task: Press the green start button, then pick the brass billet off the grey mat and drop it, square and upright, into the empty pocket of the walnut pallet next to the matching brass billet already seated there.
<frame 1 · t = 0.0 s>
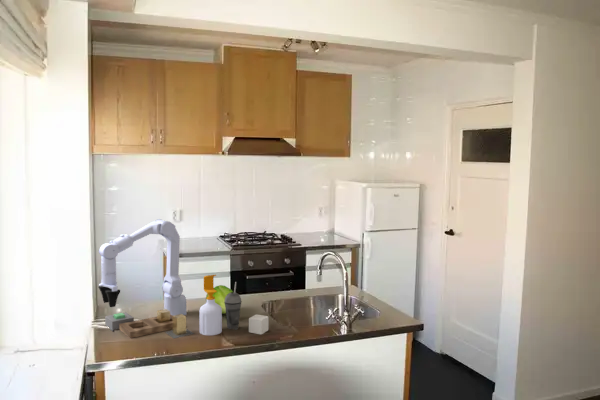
hand: (109, 304, 214), 10 cm above the table, tool pointing down, fingers open, 7 cm apart
soap bottle: (210, 333, 211), on the table
button housing: (119, 326, 217), on the table
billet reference: (163, 327, 217), resting in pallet
beverage cup: (232, 328, 216), on the table
lettuce: (222, 314, 235), on the table
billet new: (179, 332, 208), point 1 cm above the table, touching mat
start button: (119, 318, 217), point 4 cm above the table, slide at 0.0 cm
mat: (179, 334, 208), on the table
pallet: (151, 329, 213), on the table
white cube: (258, 331, 213), on the table
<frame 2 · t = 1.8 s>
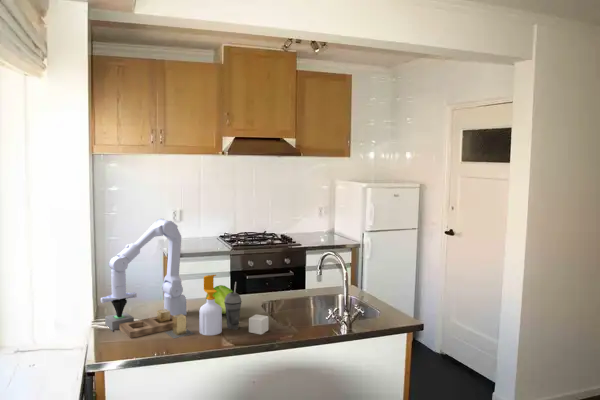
hand: (119, 316, 217), 4 cm above the table, tool pointing down, fingers closed, pressing on start button
start button: (119, 319, 217), point 3 cm above the table, slide at 0.8 cm, touching gripper
everything else where it was.
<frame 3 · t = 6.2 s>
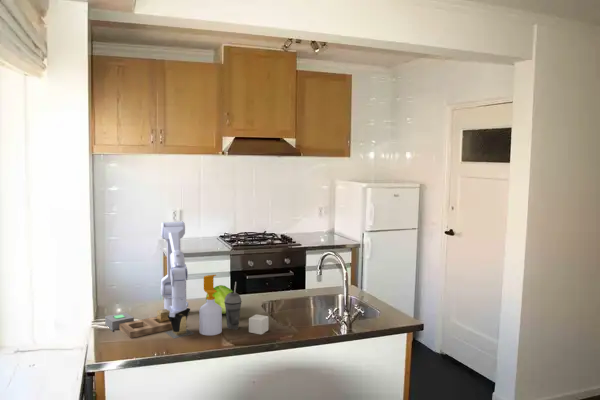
hand: (179, 329, 208), 2 cm above the table, tool pointing down, fingers closed on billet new, 6 cm apart
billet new: (179, 332, 208), point 1 cm above the table, touching gripper, mat
start button: (119, 319, 217), point 3 cm above the table, slide at 0.8 cm
everything else where it was.
when the fingers open (3 cm above the table, at t = 12.1 s): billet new drops 2 cm, resting in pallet.
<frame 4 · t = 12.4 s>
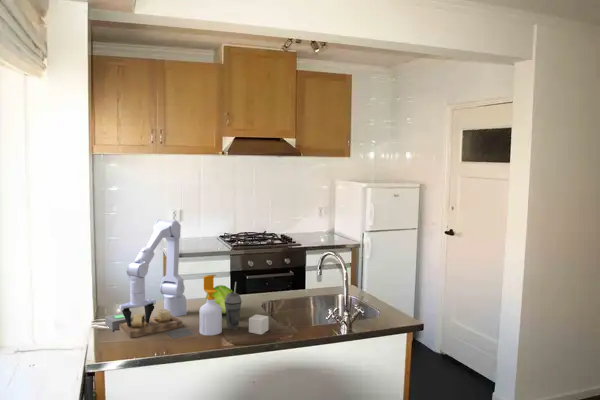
hand: (138, 324, 210), 3 cm above the table, tool pointing down, fingers open, 7 cm apart
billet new: (138, 332, 210), resting in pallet
everything else where it was.
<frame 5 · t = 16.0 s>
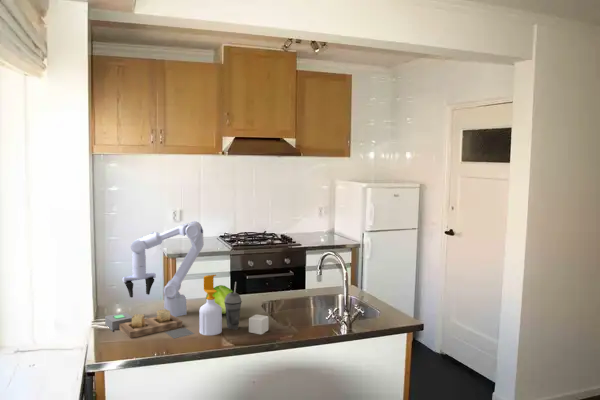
hand: (139, 295, 230), 9 cm above the table, tool pointing down, fingers open, 7 cm apart
nothing on the table moved.
at the end: start button slide at 0.8 cm; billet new 0.2 cm from the target spot on the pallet, point 0.0 cm above the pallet's base; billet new tilted 0° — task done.
